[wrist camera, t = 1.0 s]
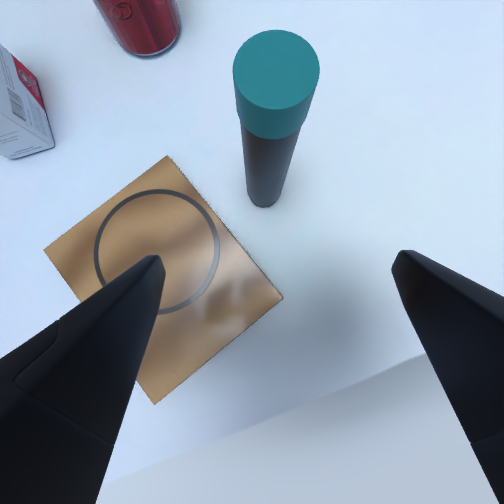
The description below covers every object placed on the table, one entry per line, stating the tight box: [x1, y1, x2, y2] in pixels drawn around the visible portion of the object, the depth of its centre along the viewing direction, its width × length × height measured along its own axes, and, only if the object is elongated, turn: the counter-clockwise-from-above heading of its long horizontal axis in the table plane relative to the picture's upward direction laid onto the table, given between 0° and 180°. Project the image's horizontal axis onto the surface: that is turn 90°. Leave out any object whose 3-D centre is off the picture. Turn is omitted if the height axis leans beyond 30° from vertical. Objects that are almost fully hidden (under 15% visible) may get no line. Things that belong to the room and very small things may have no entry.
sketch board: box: [44, 155, 283, 405], centre depth 22 cm, size 18×15×1 cm
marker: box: [233, 30, 320, 207], centre depth 16 cm, size 3×3×14 cm
